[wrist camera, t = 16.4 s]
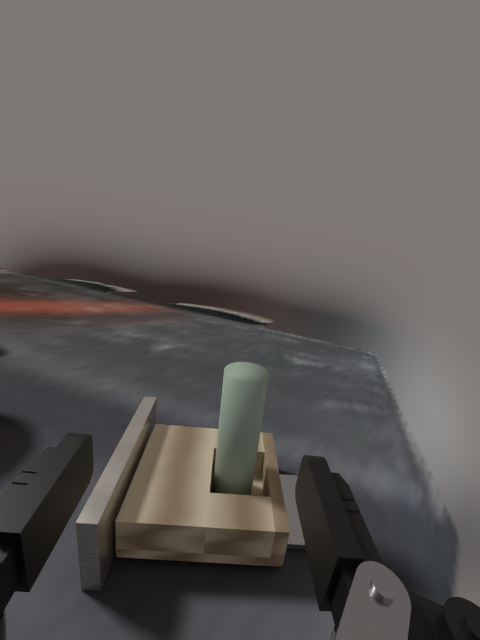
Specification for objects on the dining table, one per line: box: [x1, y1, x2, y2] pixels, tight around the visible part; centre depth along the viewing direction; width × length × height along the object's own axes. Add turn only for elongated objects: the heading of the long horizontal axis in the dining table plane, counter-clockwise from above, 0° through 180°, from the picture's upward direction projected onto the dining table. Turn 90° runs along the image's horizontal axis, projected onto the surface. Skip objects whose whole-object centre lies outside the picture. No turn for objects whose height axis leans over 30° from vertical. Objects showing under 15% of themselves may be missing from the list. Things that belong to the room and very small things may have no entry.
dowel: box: [212, 362, 269, 495], centre depth 28 cm, size 4×4×14 cm
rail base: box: [76, 397, 306, 591], centre depth 29 cm, size 25×16×7 cm, turn 91°
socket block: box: [115, 424, 290, 567], centre depth 30 cm, size 14×12×4 cm
